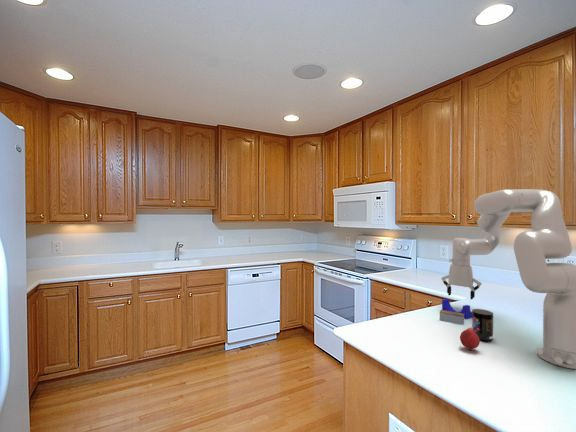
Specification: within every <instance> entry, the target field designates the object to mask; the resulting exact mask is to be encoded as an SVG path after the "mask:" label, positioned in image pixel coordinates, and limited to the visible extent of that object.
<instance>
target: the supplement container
mask: <svg viewBox="0 0 576 432" xmlns="http://www.w3.org/2000/svg"><path fill="white" fill-rule="evenodd" d="M471 312H472V318H471V319H472V320H471V321H472V322H471V324H472V325H471V328H472V330H473V331H474V332H475V333H476V334H477V335H478V337H479V339H480V342H481V343H491V342H493V341H494V312H492V311H490V310H487V309H483V308H482V309H481V308H473V309H472V310H471Z"/></svg>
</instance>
